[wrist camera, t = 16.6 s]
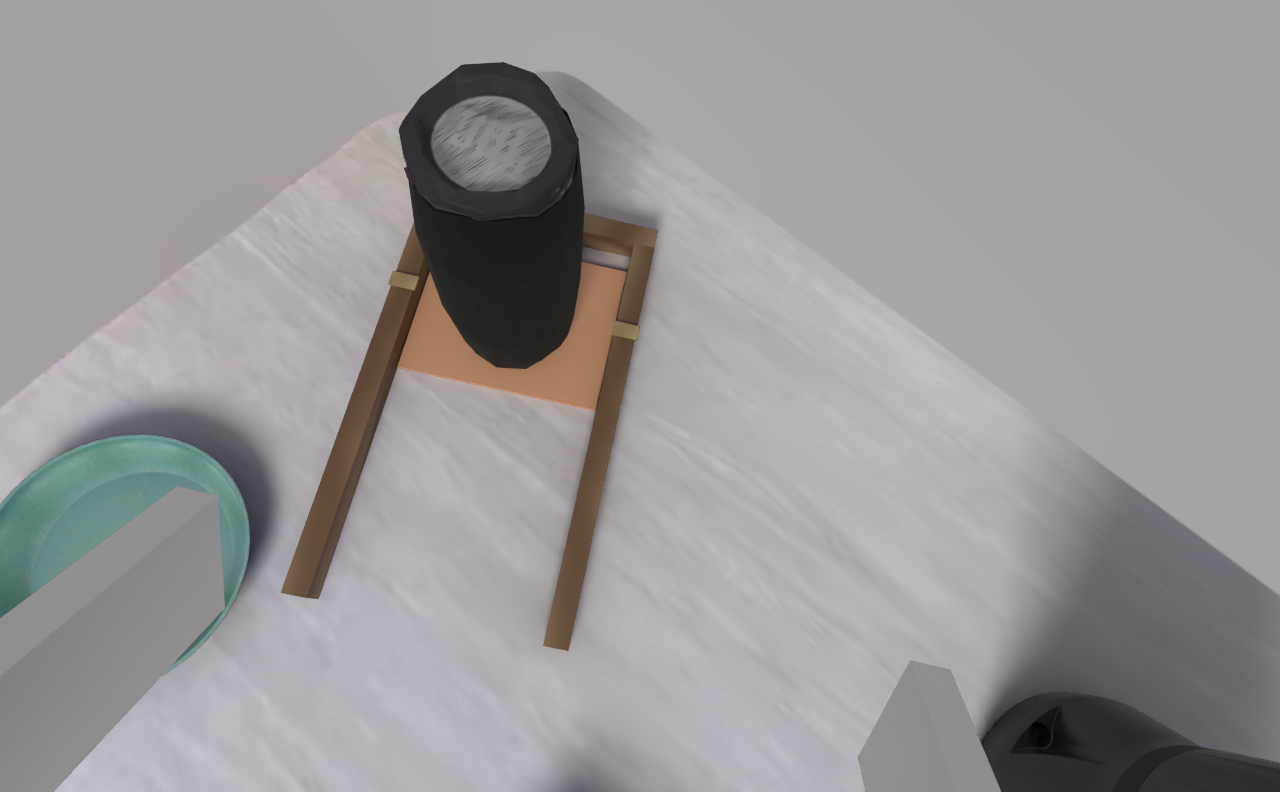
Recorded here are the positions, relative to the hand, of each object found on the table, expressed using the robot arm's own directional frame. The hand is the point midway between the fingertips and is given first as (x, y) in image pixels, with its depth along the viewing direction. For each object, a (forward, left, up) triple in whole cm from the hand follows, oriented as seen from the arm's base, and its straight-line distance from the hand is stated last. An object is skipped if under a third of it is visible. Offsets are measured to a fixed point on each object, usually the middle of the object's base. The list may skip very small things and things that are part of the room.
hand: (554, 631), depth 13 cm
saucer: (+26, +1, -31) cm, 41 cm away
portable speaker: (+8, -19, -31) cm, 37 cm away
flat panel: (+8, -20, -31) cm, 37 cm away
